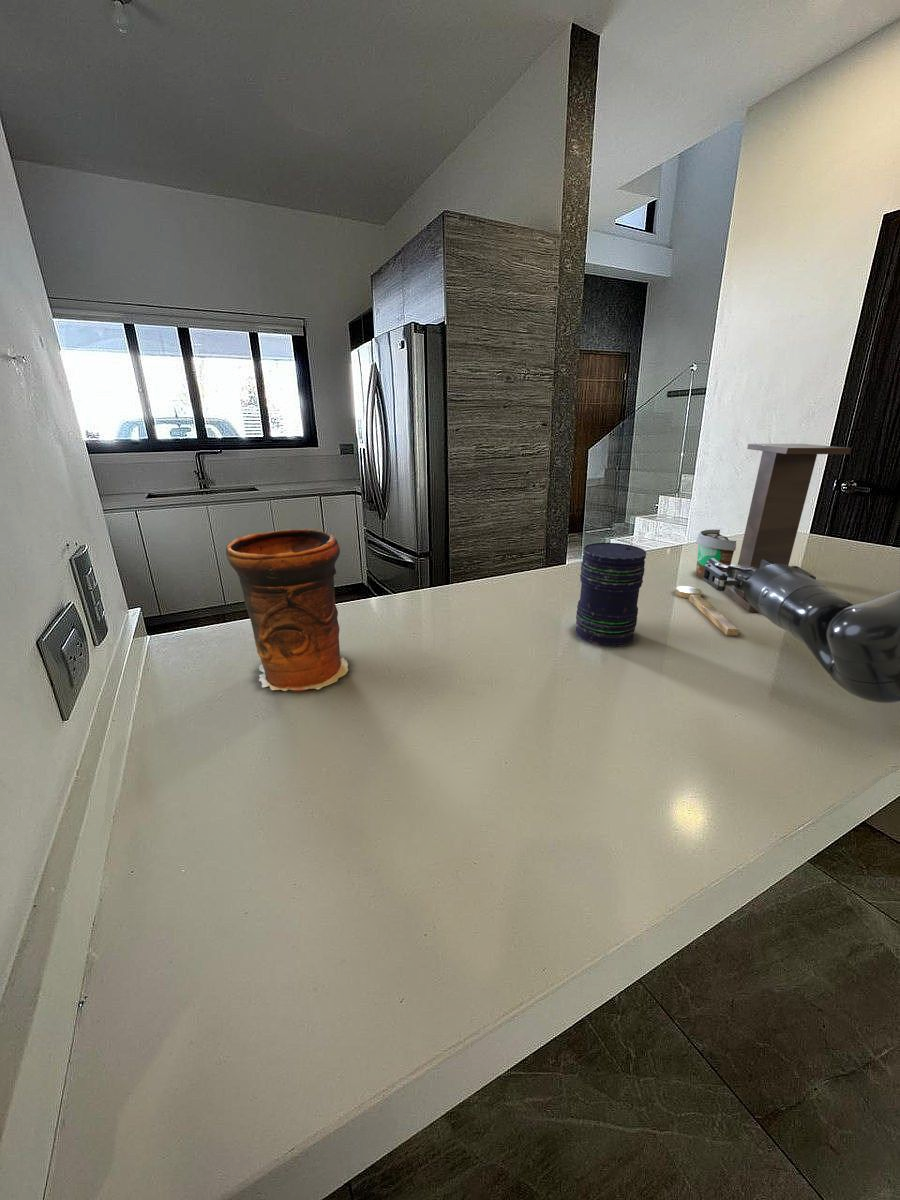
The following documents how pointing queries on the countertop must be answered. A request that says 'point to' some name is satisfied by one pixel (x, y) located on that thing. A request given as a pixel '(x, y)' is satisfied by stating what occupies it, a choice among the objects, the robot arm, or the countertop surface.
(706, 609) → the wooden spoon
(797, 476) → the brown pedestal stand
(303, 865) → the countertop surface
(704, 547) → the food container
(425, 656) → the countertop surface
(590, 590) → the storage jar
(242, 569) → the vessel
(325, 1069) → the countertop surface
